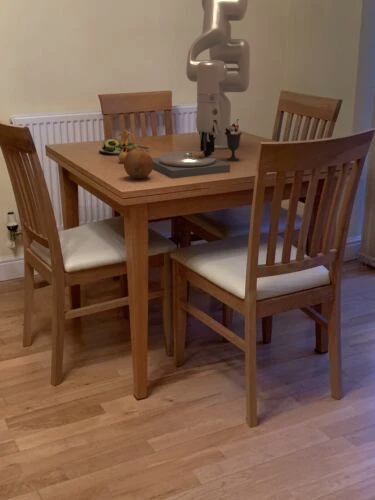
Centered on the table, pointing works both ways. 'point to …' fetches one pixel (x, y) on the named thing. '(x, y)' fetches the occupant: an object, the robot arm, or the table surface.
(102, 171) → the table surface
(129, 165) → the onion
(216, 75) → the robot arm
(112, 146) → the avocado toast plate
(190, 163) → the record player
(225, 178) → the table surface
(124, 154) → the figurine
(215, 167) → the instrument base
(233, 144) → the sundae
